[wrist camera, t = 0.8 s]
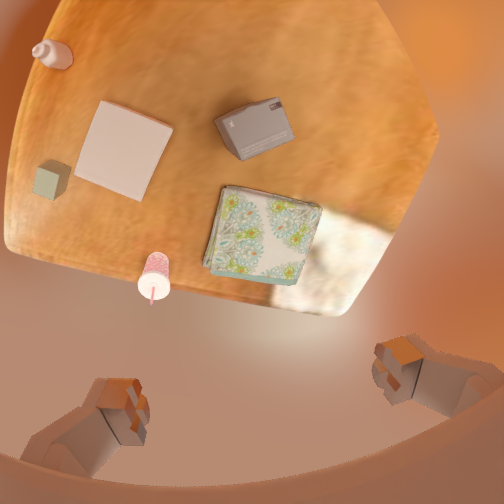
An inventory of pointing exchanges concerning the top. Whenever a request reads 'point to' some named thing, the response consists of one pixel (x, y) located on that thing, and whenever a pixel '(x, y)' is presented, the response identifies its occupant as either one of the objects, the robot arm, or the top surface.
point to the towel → (260, 236)
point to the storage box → (122, 149)
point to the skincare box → (255, 128)
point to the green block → (51, 179)
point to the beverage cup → (155, 277)
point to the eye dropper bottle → (53, 54)
